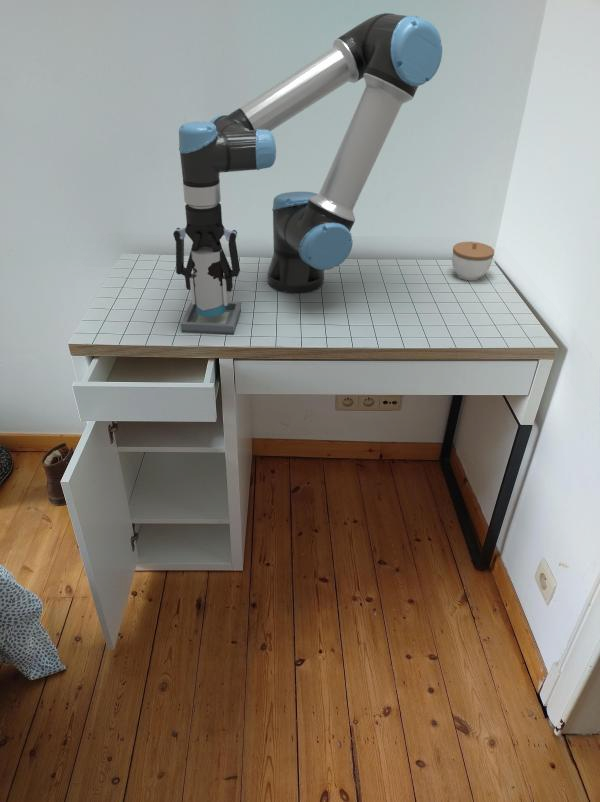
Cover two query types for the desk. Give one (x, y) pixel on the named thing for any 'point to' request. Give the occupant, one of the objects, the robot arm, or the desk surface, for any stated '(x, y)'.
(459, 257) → the lidded jar
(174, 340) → the desk surface
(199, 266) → the cup
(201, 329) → the tray
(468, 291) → the desk surface
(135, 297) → the desk surface
